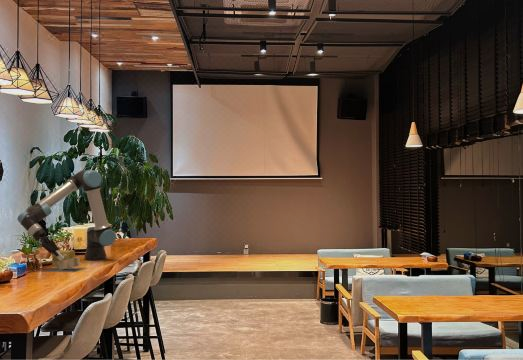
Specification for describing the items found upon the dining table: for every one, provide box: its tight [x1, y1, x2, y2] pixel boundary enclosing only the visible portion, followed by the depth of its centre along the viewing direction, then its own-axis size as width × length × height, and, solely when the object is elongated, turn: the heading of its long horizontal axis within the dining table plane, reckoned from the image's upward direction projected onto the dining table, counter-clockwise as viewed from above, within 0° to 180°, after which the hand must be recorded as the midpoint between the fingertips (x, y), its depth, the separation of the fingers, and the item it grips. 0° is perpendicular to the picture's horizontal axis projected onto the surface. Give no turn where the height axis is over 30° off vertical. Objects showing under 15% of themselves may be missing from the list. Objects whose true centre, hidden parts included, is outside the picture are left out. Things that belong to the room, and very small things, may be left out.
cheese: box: [51, 249, 76, 267], centre depth 326 cm, size 10×11×10 cm
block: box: [57, 256, 81, 270], centre depth 308 cm, size 5×5×12 cm
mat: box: [41, 266, 87, 273], centre depth 308 cm, size 16×22×1 cm
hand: (62, 259), depth 308 cm, fingers closed
